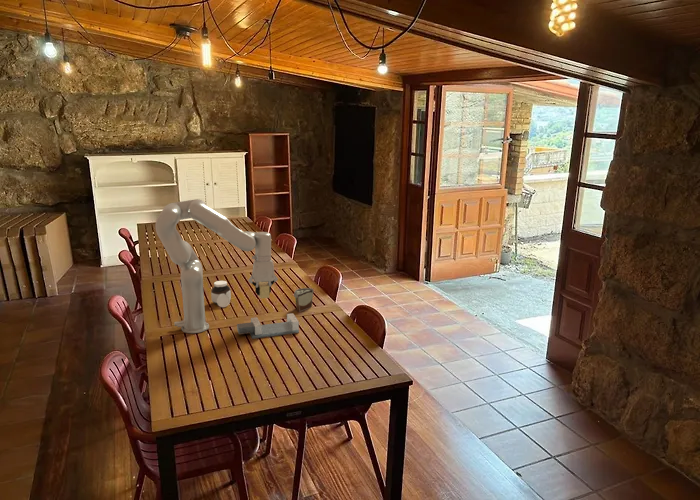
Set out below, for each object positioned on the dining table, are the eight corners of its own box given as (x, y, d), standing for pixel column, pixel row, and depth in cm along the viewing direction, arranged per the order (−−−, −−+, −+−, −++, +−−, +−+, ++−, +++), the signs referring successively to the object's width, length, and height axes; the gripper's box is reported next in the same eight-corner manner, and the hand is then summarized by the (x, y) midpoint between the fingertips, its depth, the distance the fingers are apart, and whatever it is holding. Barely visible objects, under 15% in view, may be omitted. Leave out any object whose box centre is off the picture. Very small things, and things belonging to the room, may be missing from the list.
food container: (305, 303, 271) (305, 286, 268) (313, 306, 267) (313, 288, 265) (289, 309, 262) (288, 291, 259) (297, 312, 258) (297, 294, 255)
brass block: (260, 298, 237) (260, 286, 236) (257, 293, 244) (257, 281, 243) (269, 297, 239) (269, 285, 237) (266, 292, 246) (266, 280, 244)
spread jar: (223, 298, 276) (222, 279, 273) (238, 302, 271) (237, 282, 268) (206, 305, 266) (205, 284, 263) (222, 309, 261) (221, 288, 258)
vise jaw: (239, 336, 224) (239, 328, 223) (236, 327, 234) (235, 319, 233) (261, 334, 227) (261, 325, 226) (257, 324, 237) (257, 317, 236)
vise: (252, 339, 226) (251, 327, 225) (248, 329, 236) (247, 318, 235) (298, 332, 234) (298, 321, 232) (293, 323, 244) (293, 313, 242)
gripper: (246, 261, 230) (246, 298, 235) (282, 259, 236) (281, 295, 241) (244, 256, 237) (244, 293, 242) (278, 255, 243) (278, 290, 248)
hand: (263, 293), depth 241 cm, fingers closed on brass block, 4 cm apart
